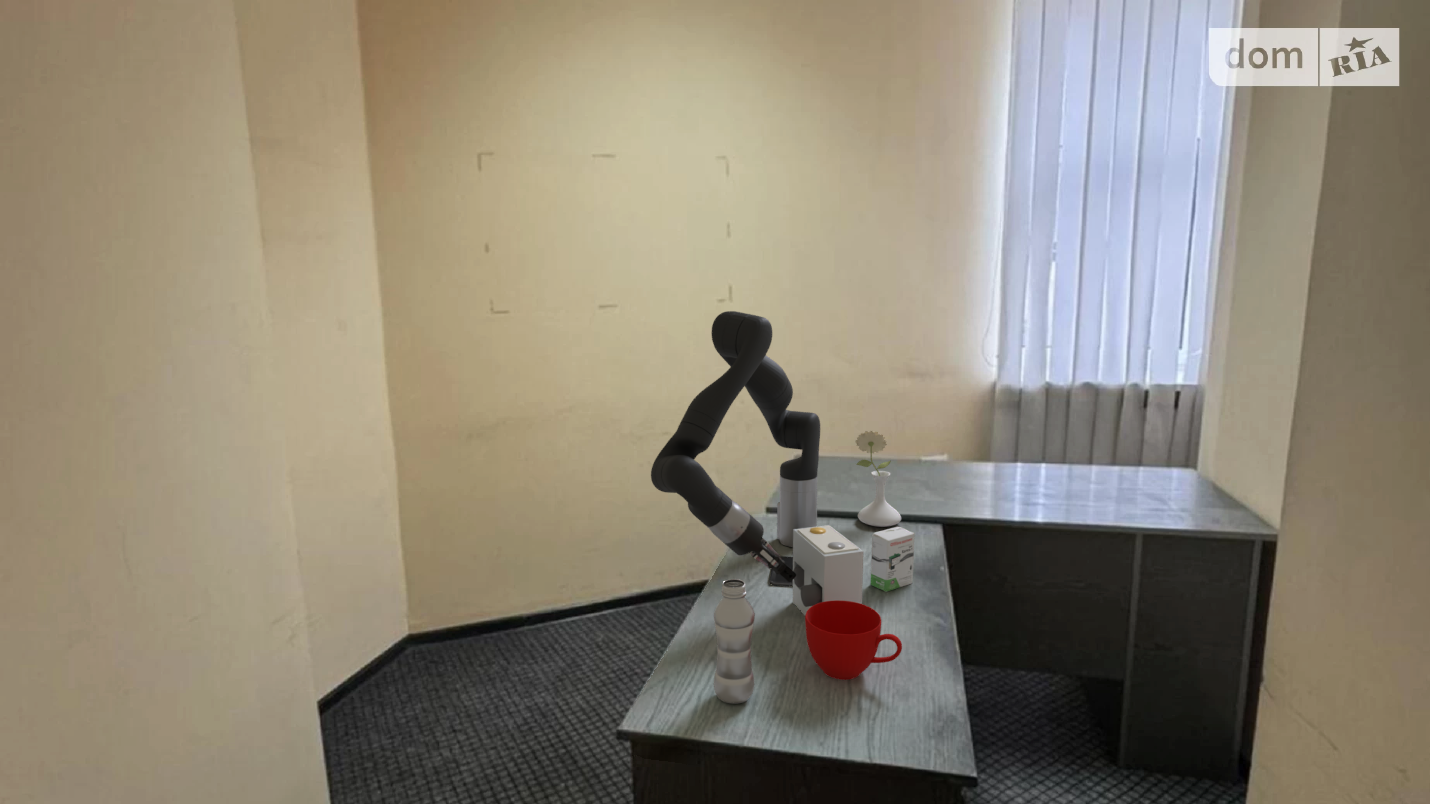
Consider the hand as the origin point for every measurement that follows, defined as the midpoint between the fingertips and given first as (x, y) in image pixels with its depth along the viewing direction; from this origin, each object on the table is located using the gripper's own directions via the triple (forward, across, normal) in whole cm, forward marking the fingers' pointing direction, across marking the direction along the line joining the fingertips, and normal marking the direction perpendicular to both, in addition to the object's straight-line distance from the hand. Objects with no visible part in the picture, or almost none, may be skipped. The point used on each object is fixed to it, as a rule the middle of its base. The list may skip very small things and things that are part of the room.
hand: (792, 577), depth 156 cm
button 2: (+2, -8, +1) cm, 9 cm away
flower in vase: (+34, +41, -24) cm, 59 cm away
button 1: (+4, 0, -1) cm, 4 cm away
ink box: (+23, +5, -13) cm, 27 cm away
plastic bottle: (-10, -26, +20) cm, 34 cm away
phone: (+10, +18, +1) cm, 21 cm away
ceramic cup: (+6, -25, +5) cm, 26 cm away
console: (+10, -4, 0) cm, 11 cm away
